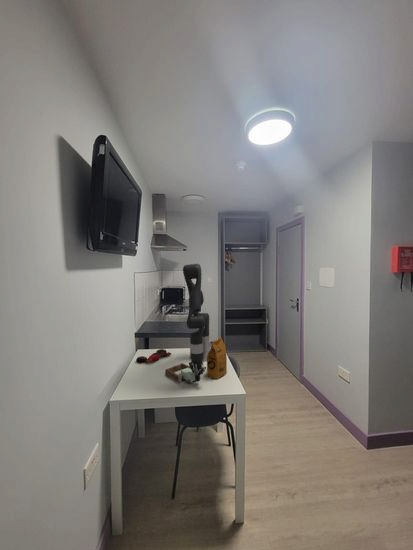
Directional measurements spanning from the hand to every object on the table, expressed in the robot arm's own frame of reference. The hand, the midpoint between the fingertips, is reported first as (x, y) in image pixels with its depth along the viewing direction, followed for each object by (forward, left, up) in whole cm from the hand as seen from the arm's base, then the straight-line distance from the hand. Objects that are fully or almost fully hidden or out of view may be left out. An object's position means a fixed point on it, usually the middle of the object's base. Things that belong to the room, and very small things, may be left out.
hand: (197, 381), depth 133 cm
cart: (0, -7, -2) cm, 7 cm away
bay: (0, -15, -2) cm, 15 cm away
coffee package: (-16, 0, -2) cm, 16 cm away
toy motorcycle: (-3, -50, -2) cm, 50 cm away
